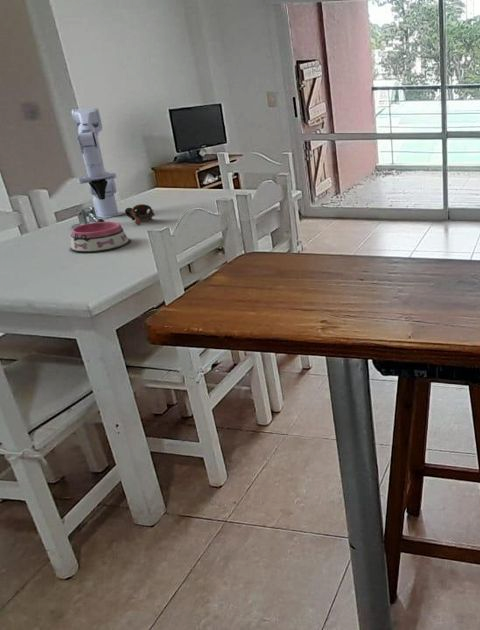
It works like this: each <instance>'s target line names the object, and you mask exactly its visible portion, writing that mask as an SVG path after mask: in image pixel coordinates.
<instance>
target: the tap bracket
mask: <svg viewBox="0 0 480 630" xmlns="http://www.w3.org/2000/svg"><path fill="white" fill-rule="evenodd" d="M85 208H88V209H89V210H90V211H91V214H92V215H94V216H95V217H97V216H96V212H95V208H94V206H90V205H87V206H85ZM75 211H76V214H77V219H78V222H79V223H75V224H72V225H71V228H72V229H73V228H75V227H77V226H80V225H84V224H89V223H96V221H94V220H93V219H92V218H90V217H89V216H88V219H87V217H86V215H85V211H84V209H83V208H80V207H76V208H75Z"/></svg>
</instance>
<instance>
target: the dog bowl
mask: <svg viewBox="0 0 480 630" xmlns="http://www.w3.org/2000/svg"><path fill="white" fill-rule="evenodd" d="M129 243H130V240H129V238H128V236H127V235H126V233H125V230H124V228H123V226H122V225H121V224H120V223H119V222H116V221H105V222H96V223H89V224H84V225H80V226H77V227H75V228H72V229H71V234H70V250H71V251H73V252H76V253H83V254H84V253H87V254H88V253H101V252H107V251H111V250H115V249H119V248H123V247H124V246H126V245H128V244H129Z"/></svg>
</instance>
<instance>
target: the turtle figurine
mask: <svg viewBox="0 0 480 630" xmlns="http://www.w3.org/2000/svg"><path fill="white" fill-rule="evenodd" d="M124 213H125V215H126V216H127V218H129V219H131V221H134V222H135V225H137V226H140V225H141V223H144V222H147V221H150V220H153V217H154V216H156V214H155V213H154V210H153V208H152V207H151V206H150V205H148V204H144V203H143V204H142V203H139V204H136V205H134V206H133V207H127V208H125V210H124Z"/></svg>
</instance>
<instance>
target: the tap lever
mask: <svg viewBox="0 0 480 630" xmlns="http://www.w3.org/2000/svg"><path fill="white" fill-rule="evenodd" d="M82 209H84V211H85V215H86V218H87V217H88V218H89V217H90V218H92V219H93V220H94V221H96V222H106V221H105V220H104V218H99V217H97V216H96V217H95V216H94V215H92V214H91V211H90V210H89V209H88V208H86V207H84V208H82Z"/></svg>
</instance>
